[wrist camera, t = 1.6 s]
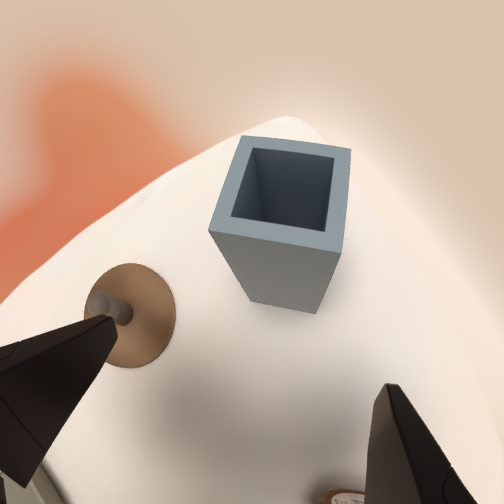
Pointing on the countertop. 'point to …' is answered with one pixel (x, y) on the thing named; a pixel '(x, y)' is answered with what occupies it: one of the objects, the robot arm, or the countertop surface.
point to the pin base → (134, 312)
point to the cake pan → (32, 490)
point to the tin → (342, 497)
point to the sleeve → (283, 219)
